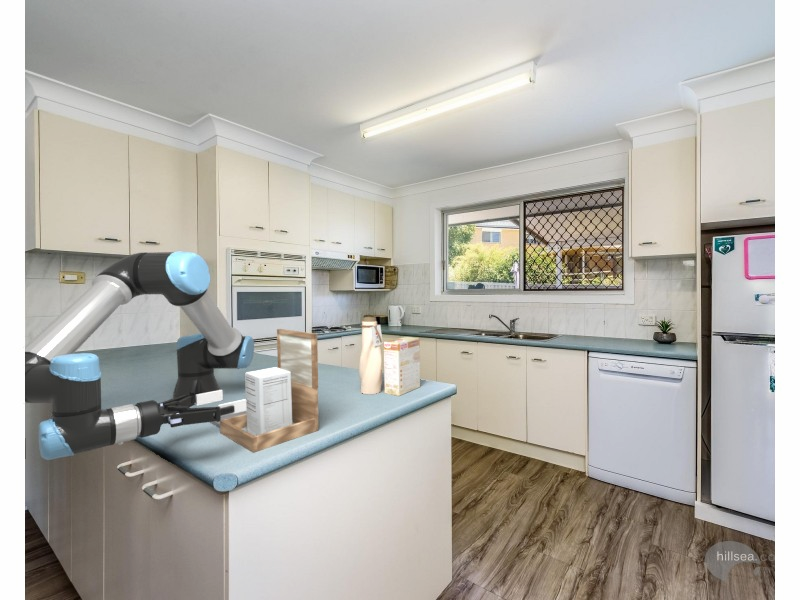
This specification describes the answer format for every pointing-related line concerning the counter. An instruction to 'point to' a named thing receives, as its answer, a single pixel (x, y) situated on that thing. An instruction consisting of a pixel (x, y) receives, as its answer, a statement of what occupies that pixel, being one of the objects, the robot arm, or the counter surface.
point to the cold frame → (302, 362)
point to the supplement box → (268, 400)
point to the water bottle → (371, 357)
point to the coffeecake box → (401, 365)
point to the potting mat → (227, 418)
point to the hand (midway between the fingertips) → (233, 399)
